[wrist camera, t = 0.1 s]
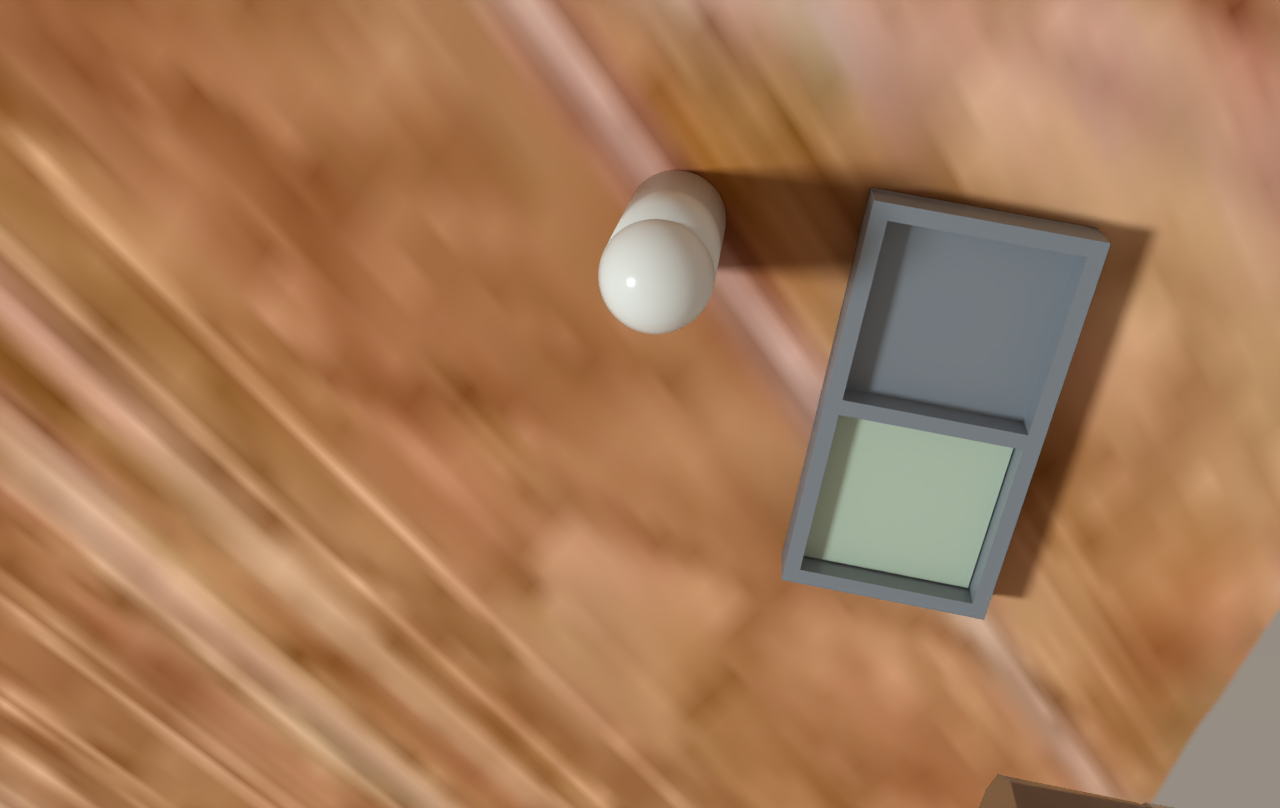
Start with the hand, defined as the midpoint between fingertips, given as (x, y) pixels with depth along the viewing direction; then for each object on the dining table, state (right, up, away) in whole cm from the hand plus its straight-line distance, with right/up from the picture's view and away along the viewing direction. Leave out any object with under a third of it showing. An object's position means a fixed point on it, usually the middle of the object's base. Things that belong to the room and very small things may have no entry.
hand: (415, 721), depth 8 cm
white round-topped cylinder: (+3, +11, +47) cm, 49 cm away
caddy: (+16, +2, +50) cm, 52 cm away
